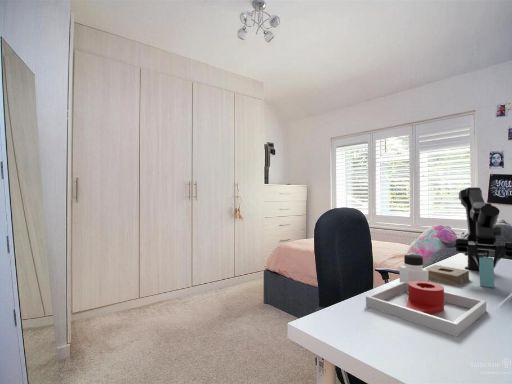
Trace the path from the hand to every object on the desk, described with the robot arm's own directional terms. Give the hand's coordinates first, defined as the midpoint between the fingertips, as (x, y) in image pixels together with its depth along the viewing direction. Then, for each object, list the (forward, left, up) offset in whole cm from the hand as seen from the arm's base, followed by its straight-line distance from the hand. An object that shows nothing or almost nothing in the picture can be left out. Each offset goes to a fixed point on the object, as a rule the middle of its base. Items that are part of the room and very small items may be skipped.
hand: (486, 266), depth 105 cm
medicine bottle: (+20, -17, -8) cm, 27 cm away
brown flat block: (+1, -13, -8) cm, 15 cm away
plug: (-1, 0, -7) cm, 7 cm away
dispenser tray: (+38, -6, -8) cm, 39 cm away
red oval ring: (+40, -6, -8) cm, 41 cm away
